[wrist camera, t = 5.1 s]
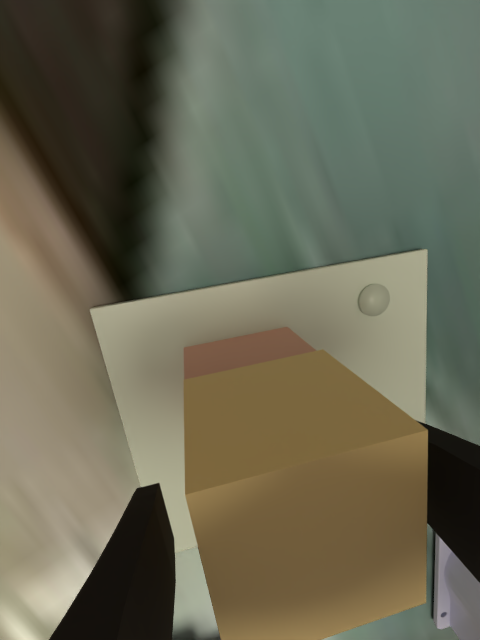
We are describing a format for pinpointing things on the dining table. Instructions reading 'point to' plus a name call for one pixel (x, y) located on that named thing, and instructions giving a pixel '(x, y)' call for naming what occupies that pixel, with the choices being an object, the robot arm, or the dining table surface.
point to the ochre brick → (304, 498)
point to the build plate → (253, 317)
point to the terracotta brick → (242, 351)
